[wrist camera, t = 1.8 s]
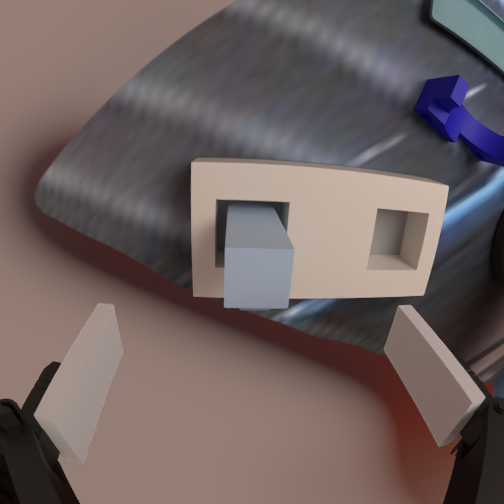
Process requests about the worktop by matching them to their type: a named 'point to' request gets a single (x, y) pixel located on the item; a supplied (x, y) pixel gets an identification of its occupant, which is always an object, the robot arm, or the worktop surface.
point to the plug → (256, 258)
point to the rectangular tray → (472, 27)
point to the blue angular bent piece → (458, 118)
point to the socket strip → (323, 224)
